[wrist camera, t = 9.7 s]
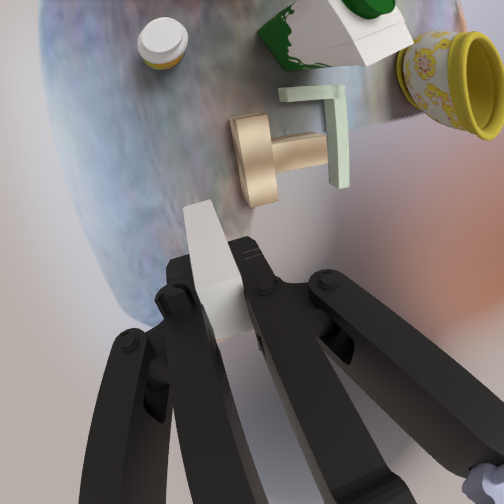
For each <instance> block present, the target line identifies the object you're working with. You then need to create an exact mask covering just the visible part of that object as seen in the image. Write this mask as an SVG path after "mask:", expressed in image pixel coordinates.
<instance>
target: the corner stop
mask: <svg viewBox="0 0 504 504" xmlns="http://www.w3.org/2000/svg"><path fill="white" fill-rule="evenodd" d="M278 94H279V101H280V102H294V101H305V100H318V99H323V100H324V110H325V121H326V134H327V148H328V165H329V183H330V184H332V185H333V186H335V187H337V188H338V189H341V188H345V187H349V141H348V122H347V107H346V95H345V85H312V86H296V87H284V88H278Z"/></svg>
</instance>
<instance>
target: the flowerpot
mask: <svg viewBox="0 0 504 504" xmlns="http://www.w3.org/2000/svg"><path fill="white" fill-rule="evenodd" d="M413 42H414V44H412V45H410V46H408V47H406V48H404V49H402V50H400V52H399V54H398V57H397V62H396V72H397V78H398V82H399V85H400V87H401V89H402V91H403V93H404V94H405V96H406V98H407V99H408V101H409V102H410V103H411V104H412V105H413V106H414V107H416V108H417V109H419V110H422V111H423V112H424V113H425V114H427V115H428V116H429V117H431V118H432V119H433V120H435V121H437V122H438V123H440V124H443V125H445V126H448V127H451V128H454V129H459V130H464V131H468V132H470V133H472V134H476V135H477V136H478V137H479V138H481V139H483V140H487V141H488V140H492V139H494V138H495V137H496V136H497V135H498V134H499V132H500V131H501V129H502V126H503V124H504V67H503V63H502V61H501V58H500V56H499V54H498V51H497V49H496V48H495V46H494V45H493V43H492V42H491V41H490V40H489V38H488V37H486V36H485V35H484V34H482V33H480V32H476V31H473V32H469V33H465V32H462V33H457V32H452V31H442V30H440V31H430V32H426V33H424V34H421V35H420V36H418V37H417V38H415V39H414V40H413Z"/></svg>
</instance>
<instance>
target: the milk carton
mask: <svg viewBox="0 0 504 504" xmlns="http://www.w3.org/2000/svg"><path fill="white" fill-rule="evenodd" d="M404 21H405V20H404V18H403V16H402V14H401V12H400V11H399V10H398V8H397V6H396V5H395V0H299V1H297V2H295V3H294V4H292V5H290V6H289V7H287V8H286V9H284V10H282V11H281V12H279V13H278V14H277V15H276V16H274V17H273V18H272V19H271V20H270V21H269V22H267V23H266V24H265V25H264V26H263V27H262V28H261V29H260V30H259V31H257V33H258V34H259V36H260V37H261V38H262V40H263V41H264V42H265V44H266V45H267V46H268V48H269V49H270V50H271V52H272V53H273V55H274V56H275V58H276V59H277V60H278V62H279V63H280V65H281V66H282V68H283V69H284V71H293V70H303V69H314V68H325V67H336V66H352V65H358V66H365V67H368V66H370V65H372V64H373V63H375V62H377V61H379V60H381V59H383V58H385V57H387V56H389V55H391V54H393V53H395V52H397V51H399V50H402V49H404V48H406V47H408V46H410V45H412V44H414V42H413V40H412V38H411V35H410V33H409V31H408V29H407V27H406V25H405V23H404Z"/></svg>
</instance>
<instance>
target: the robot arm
mask: <svg viewBox="0 0 504 504" xmlns="http://www.w3.org/2000/svg"><path fill="white" fill-rule="evenodd" d="M183 213H184V221H185V228H186V235H187V241H188V248H189V254H188V255H184V256H181V257H178V258H174V259H171V260H170V261H169V263H168V265H167V267H166V276H167V277H166V278H167V285H165V286H164V287H163V288H161V289H160V290H159V291H158V293H157V294H156V297H155V303H156V304H157V306H158V308H159V310H160V312H161V314H162V315H163V317H164V320H163V321H162V322H161V323H160V324H159V325H157V326H156V327H154V328H152V329H151V330H149V331H147V332H144V331H142V330H140V329H137V328H131V329H127V330H125V331H124V332H122V333H120V335H118V336H117V337H116V339H115V341H114V343H113V345H112V348H111V351H110V355H109V358H108V361H107V365H106V368H105V371H104V375H103V378H102V382H101V386H100V390H99V393H98V397H97V401H96V405H95V409H94V413H93V418H92V423H91V427H90V431H89V436H88V442H87V447H86V452H85V458H84V464H83V470H82V477H81V485H80V494H79V504H166V484H167V467H168V454H169V441H170V431H171V421H172V411H173V409H174V415H175V420H176V427H177V433H178V438H179V444H180V449H181V454H182V459H183V463H184V468H185V472H186V477H187V481H188V485H189V489H190V493H191V497H192V501H193V504H269V503H268V500H267V497H266V495H265V492H264V489H263V487H262V484H261V481H260V479H259V476H258V473H257V470H256V467H255V464H254V461H253V459H252V456H251V453H250V450H249V447H248V444H247V441H246V438H245V434H244V431H243V428H242V425H241V422H240V419H239V416H238V412H237V409H236V406H235V402H234V399H233V396H232V392H231V389H230V385H229V382H228V378H227V375H226V371H225V368H224V364H223V360H222V356H221V353H220V350H219V348H218V345H217V343H216V340H219V339H223V338H226V337H229V336H233V335H236V334H239V333H242V332H245V331H249V330H252V329H254V330H255V333H256V337H257V341H258V345H259V349H260V351H262V353H263V356H264V359H265V361H266V364H267V366H268V369H269V371H270V374H271V376H272V379H273V382H274V384H275V387H276V389H277V391H278V394H279V397H280V399H281V402H282V404H283V406H284V409H285V411H286V413H287V416H288V419H289V421H290V423H291V426H292V428H293V431H294V433H295V435H296V438H297V440H298V443H299V445H300V447H301V450H302V452H303V454H304V456H305V459H306V461H307V464H308V466H309V468H310V470H311V473H312V475H313V477H314V480H315V482H316V484H317V487H318V489H319V491H320V493H321V495H322V498H323V500H324V504H417V503H416V501H415V499H414V497H413V495H412V494H411V492H410V490H409V488H408V487H407V485H406V483H405V482H404V481H403V480H402V479H401V478H400V477H399V476H398V475H396V474H395V473H393V472H391V470H390V469H389V468H388V466H387V465H386V463H385V462H384V460H383V458H382V456H381V454H380V452H379V450H378V448H377V447H376V445H375V443H374V441H373V439H372V438H371V436H370V434H369V432H368V430H367V428H366V426H365V425H364V423H363V421H362V419H361V417H360V416H359V414H358V412H357V410H356V409H355V407H354V405H353V403H352V401H351V400H350V398H349V396H348V394H347V393H346V390H345V389H344V387H343V385H342V383H341V381H340V380H339V378H338V376H337V374H336V372H335V371H334V369H333V367H332V365H331V364H330V362H329V360H328V358H327V357H326V355H325V353H324V351H325V352H326V354H327V355H329V357H331V359H332V360H334V362H336V364H338V366H339V367H340V368H341V369H342V370H343V371H344V372H345V373H346V374H347V375H348V376H349V377H350V378H351V379H353V381H354V382H355V383H356V384H357V385H358V386H360V387H361V388H362V389H363V391H365V393H367V395H369V396H370V397H371V398H372V399H373V400H374V401H375V402H376V403H377V404H378V405H379V406H380V407H381V408H382V409H383V410H384V411H385V412H386V413H387V414H388V415H389V416H390V417H391V418H392V419H393V420H394V421H395V422H396V423H397V424H398V425H399V426H400V427H401V428H402V429H403V430H404V431H405V432H407V434H409V435H410V436H411V437H412V438H413V439H414V440H415V441H416V442H417V443H418V444H419V445H420V446H421V447H422V448H423V449H424V450H425V451H426V452H427V453H428V454H430V455H431V456H432V457H433V458H434V459H435V460H436V461H437V462H438V463H439V464H441V465H442V466H443V467H444V468H446V469H447V470H448V471H450V472H452V473H454V474H455V475H457V476H460V477H463V478H466V480H465V481H464V483H463V485H462V492H463V493H464V494H466V495H467V497H468V498H469V499H471V500H472V501H473V502H475V504H504V402H503V401H501V400H500V399H499V398H498V397H497V396H496V395H495V394H493V393H492V392H491V391H490V390H489V389H488V388H487V387H486V386H484V385H483V384H482V383H481V382H480V381H479V380H477V379H476V378H475V377H474V376H473V375H472V374H470V373H469V372H468V371H467V370H466V369H465V368H463V367H462V366H461V365H460V364H459V363H457V362H456V361H455V360H454V359H452V358H451V357H450V356H449V355H448V354H446V353H445V352H444V351H443V350H441V349H440V348H439V347H438V346H437V345H435V344H434V343H433V342H432V341H430V340H429V339H428V338H426V337H425V336H424V335H423V334H421V333H420V332H419V331H418V330H416V329H415V328H414V327H413V326H411V325H410V324H409V323H408V322H406V321H405V320H403V319H402V318H401V317H400V316H398V315H397V314H396V313H395V312H393V311H392V310H390V309H389V308H388V307H387V306H385V305H384V304H383V303H381V302H380V301H379V300H378V299H376V298H375V297H373V296H372V295H371V294H369V293H368V292H367V291H365V290H364V289H363V288H361V287H360V286H359V285H357V284H356V283H355V282H353V281H352V280H351V279H349V278H348V277H347V276H345V275H344V274H343V273H340V272H339V271H336V270H331V269H326V270H320V271H318V272H315V273H314V274H313V275H312V276H311V277H310V279H309V281H308V283H286V282H283V281H282V280H281V279H280V278H279V277H277V276H275V275H274V273H273V271H272V269H271V268H270V266H269V264H268V262H267V261H266V259H265V257H264V255H263V254H262V252H261V250H260V249H259V246H258V245H257V243H256V241H255V240H253V239H252V238H250V237H248V236H246V237H242V238H239V239H236V240H232V241H229V242H227V240H226V238H225V235H224V233H223V230H222V228H221V225H220V222H219V220H218V217H217V215H216V212H215V210H214V207H213V205H212V202H211V199H210V200H206V201H203V202H199V203H196V204H192V205H189V206H186V207H183ZM253 327H254V328H253ZM215 338H216V339H215ZM323 350H324V351H323Z"/></svg>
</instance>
